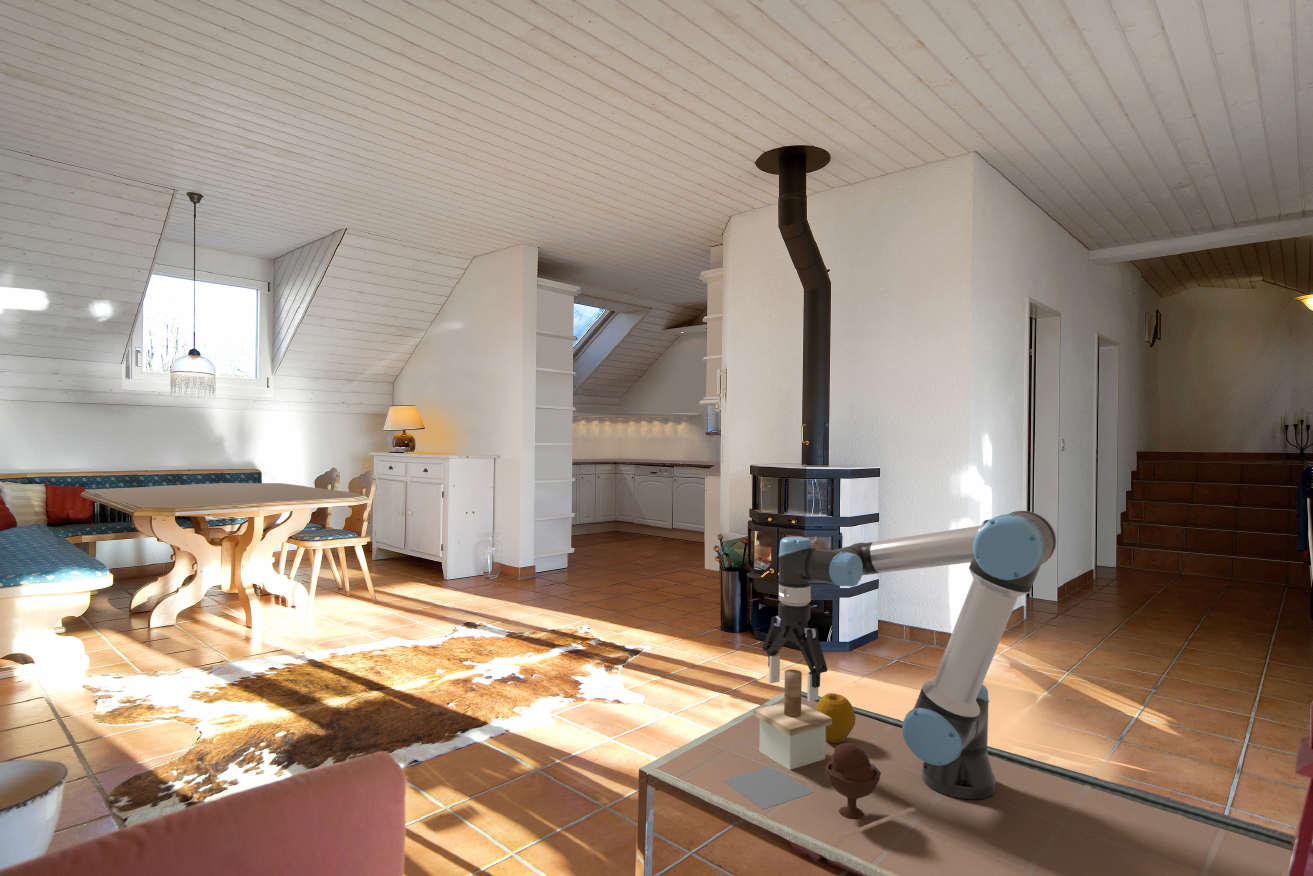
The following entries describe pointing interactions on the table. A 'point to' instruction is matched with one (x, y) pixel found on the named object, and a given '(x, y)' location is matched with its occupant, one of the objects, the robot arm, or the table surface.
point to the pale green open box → (792, 746)
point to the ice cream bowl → (851, 777)
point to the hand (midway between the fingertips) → (792, 691)
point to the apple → (837, 716)
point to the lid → (792, 710)
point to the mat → (767, 787)
